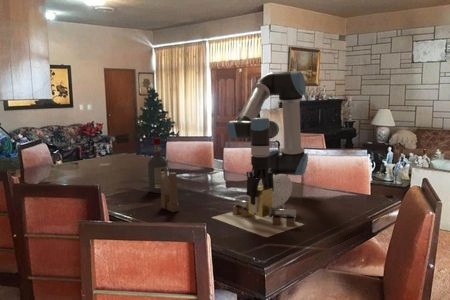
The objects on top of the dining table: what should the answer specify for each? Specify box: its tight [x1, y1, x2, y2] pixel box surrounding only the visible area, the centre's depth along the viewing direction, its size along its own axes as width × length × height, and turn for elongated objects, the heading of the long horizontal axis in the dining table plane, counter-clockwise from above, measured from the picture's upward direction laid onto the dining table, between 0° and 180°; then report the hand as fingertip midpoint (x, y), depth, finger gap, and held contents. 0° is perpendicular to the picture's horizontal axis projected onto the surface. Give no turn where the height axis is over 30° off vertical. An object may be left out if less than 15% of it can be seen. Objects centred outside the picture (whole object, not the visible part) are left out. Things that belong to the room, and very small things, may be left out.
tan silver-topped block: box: [232, 198, 255, 218], centre depth 174 cm, size 9×5×7 cm, turn 40°
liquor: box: [147, 137, 169, 194], centre depth 222 cm, size 9×9×30 cm
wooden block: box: [160, 172, 180, 213], centre depth 186 cm, size 4×11×18 cm, turn 39°
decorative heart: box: [259, 174, 293, 209], centre depth 184 cm, size 18×11×17 cm, turn 48°
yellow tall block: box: [248, 185, 272, 217], centre depth 166 cm, size 8×6×11 cm
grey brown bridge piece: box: [269, 207, 297, 227], centre depth 160 cm, size 10×5×7 cm, turn 75°
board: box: [210, 211, 305, 238], centre depth 166 cm, size 22×33×1 cm, turn 40°
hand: (260, 210), depth 166 cm, fingers closed on yellow tall block, 6 cm apart
